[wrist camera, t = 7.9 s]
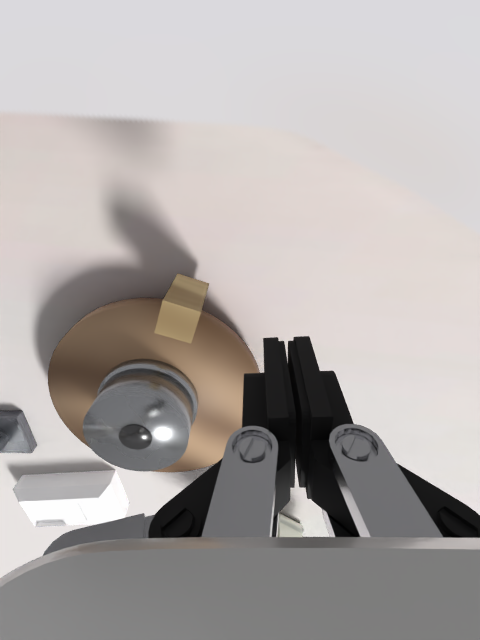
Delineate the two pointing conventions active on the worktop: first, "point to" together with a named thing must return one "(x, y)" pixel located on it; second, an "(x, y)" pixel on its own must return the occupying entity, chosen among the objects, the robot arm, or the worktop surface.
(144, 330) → the turntable
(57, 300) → the worktop surface
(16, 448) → the gauge post
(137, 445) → the cover
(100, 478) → the white switch plate
